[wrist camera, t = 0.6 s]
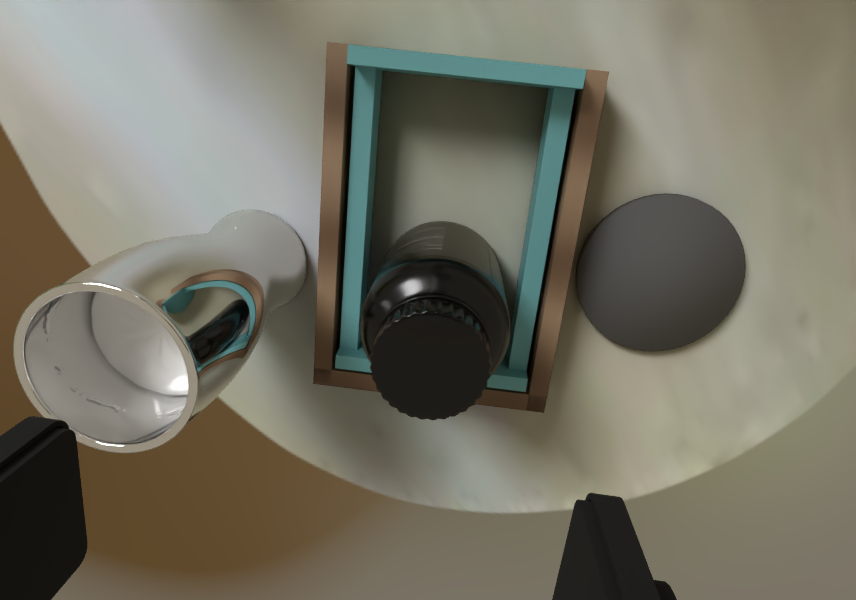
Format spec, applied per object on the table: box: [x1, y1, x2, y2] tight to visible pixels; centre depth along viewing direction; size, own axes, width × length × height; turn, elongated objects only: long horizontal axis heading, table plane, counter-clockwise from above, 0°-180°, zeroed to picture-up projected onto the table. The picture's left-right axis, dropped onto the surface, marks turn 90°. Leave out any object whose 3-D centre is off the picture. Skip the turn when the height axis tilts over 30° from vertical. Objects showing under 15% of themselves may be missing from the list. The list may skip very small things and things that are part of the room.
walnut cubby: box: [313, 42, 609, 413], centre depth 31 cm, size 18×13×3 cm
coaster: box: [576, 194, 745, 351], centre depth 32 cm, size 9×9×1 cm
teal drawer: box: [335, 44, 586, 392], centre depth 30 cm, size 16×11×4 cm, turn 174°
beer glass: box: [13, 210, 307, 453], centre depth 27 cm, size 7×7×15 cm
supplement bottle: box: [360, 221, 510, 420], centre depth 28 cm, size 7×7×12 cm
